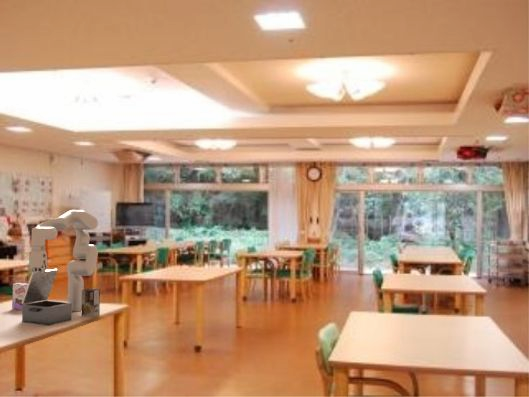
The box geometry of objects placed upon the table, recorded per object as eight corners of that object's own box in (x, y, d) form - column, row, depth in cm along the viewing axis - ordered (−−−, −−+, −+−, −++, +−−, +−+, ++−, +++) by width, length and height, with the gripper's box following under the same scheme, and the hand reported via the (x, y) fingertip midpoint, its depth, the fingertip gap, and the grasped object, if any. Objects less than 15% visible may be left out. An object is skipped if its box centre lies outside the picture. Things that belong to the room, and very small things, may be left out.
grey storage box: (48, 316, 364) (48, 299, 364) (74, 319, 356) (74, 302, 356) (19, 322, 344) (19, 305, 345) (45, 326, 336) (46, 308, 336)
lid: (47, 299, 363) (44, 297, 364) (57, 269, 359) (54, 267, 361) (22, 304, 346) (19, 301, 347) (33, 272, 343) (30, 270, 344)
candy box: (11, 309, 387) (12, 283, 387) (18, 308, 393) (19, 282, 393) (28, 311, 382) (29, 284, 382) (35, 309, 387) (35, 283, 388)
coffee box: (100, 315, 370) (100, 289, 370) (93, 317, 364) (94, 290, 364) (87, 314, 373) (87, 288, 373) (80, 316, 367) (81, 289, 367)
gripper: (52, 248, 354) (51, 280, 354) (33, 247, 361) (33, 278, 360) (42, 249, 347) (41, 281, 347) (23, 248, 354) (23, 279, 354)
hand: (37, 280), depth 354 cm, fingers closed
